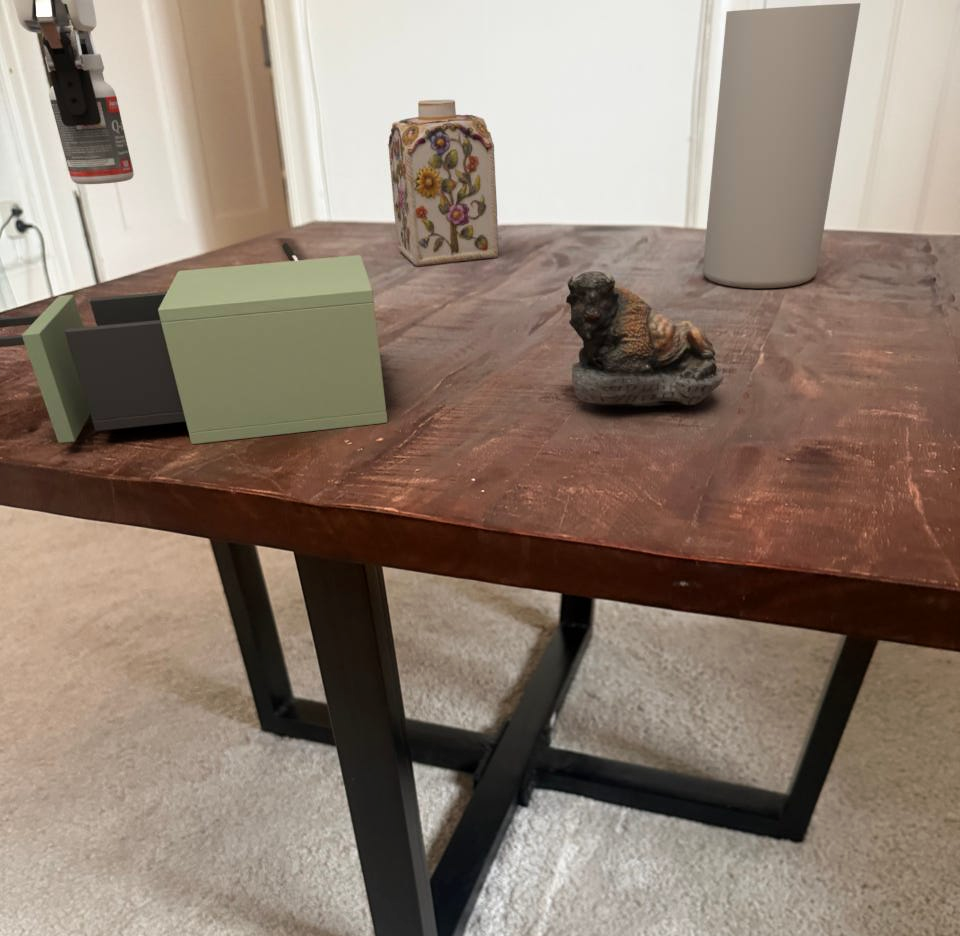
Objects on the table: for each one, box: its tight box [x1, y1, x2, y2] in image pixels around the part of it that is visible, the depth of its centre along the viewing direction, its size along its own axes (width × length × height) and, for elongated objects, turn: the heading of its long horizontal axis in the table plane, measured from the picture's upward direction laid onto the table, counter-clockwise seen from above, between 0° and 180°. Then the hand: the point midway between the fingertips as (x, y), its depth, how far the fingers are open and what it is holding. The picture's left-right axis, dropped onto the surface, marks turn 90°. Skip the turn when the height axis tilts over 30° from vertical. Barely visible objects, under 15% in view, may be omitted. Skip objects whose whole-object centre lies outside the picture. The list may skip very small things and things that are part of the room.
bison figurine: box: [565, 270, 724, 408], centre depth 64 cm, size 12×7×10 cm, turn 97°
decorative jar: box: [387, 99, 499, 267], centre depth 113 cm, size 12×12×18 cm
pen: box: [282, 242, 299, 261], centre depth 122 cm, size 1×19×1 cm, turn 16°
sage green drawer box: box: [158, 254, 388, 445], centre depth 69 cm, size 15×13×10 cm
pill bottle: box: [44, 53, 135, 185], centre depth 80 cm, size 6×6×10 cm
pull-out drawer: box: [0, 291, 186, 444], centre depth 67 cm, size 19×12×8 cm, turn 100°
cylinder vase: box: [702, 2, 861, 289], centre depth 92 cm, size 12×12×25 cm
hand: (88, 120), depth 80 cm, fingers closed on pill bottle, 5 cm apart
